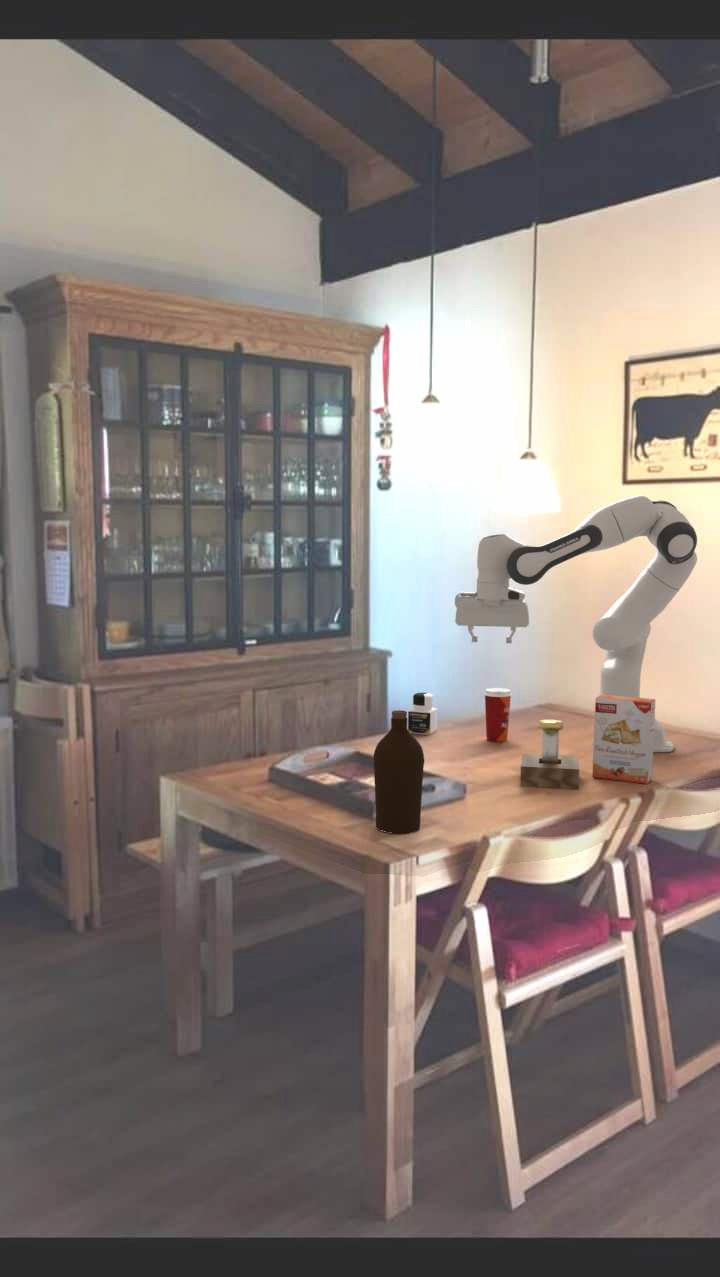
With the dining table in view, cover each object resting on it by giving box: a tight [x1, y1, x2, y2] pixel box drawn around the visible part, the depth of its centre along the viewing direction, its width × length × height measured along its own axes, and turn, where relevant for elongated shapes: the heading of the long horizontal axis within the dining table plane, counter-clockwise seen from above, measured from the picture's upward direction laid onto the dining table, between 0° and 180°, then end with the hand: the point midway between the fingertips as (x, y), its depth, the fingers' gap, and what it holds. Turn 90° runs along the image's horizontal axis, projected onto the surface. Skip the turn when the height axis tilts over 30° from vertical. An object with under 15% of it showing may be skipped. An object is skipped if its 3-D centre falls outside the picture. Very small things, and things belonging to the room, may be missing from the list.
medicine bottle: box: [407, 692, 438, 736], centre depth 318 cm, size 7×7×12 cm
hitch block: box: [519, 753, 580, 790], centre depth 260 cm, size 14×14×5 cm
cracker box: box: [591, 694, 656, 785], centre depth 262 cm, size 14×6×21 cm, turn 63°
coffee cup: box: [483, 687, 513, 743], centre depth 308 cm, size 8×8×15 cm
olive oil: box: [373, 709, 425, 834], centre depth 219 cm, size 11×11×25 cm
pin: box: [538, 719, 564, 764], centre depth 260 cm, size 6×6×15 cm
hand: (491, 642), depth 288 cm, fingers open, 8 cm apart
